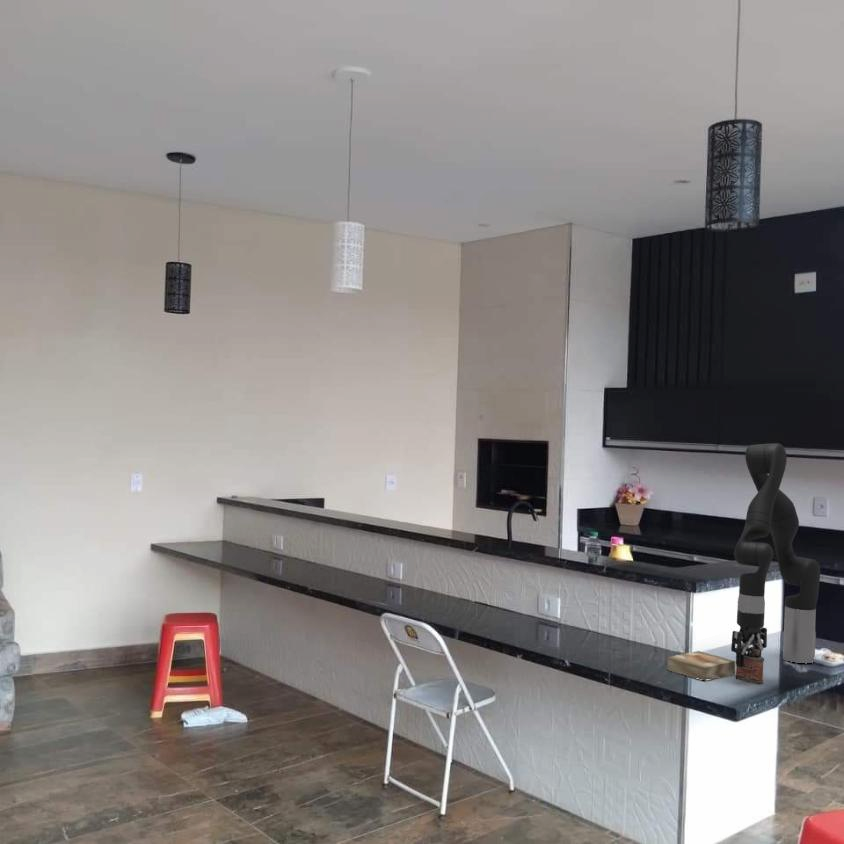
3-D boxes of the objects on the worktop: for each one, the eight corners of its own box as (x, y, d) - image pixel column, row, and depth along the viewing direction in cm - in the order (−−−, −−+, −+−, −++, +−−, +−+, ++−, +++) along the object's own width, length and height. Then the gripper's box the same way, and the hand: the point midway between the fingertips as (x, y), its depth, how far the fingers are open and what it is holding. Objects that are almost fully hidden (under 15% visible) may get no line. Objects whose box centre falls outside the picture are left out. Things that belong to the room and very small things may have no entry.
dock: (698, 663, 279) (698, 650, 279) (734, 674, 269) (735, 660, 269) (667, 670, 270) (668, 656, 270) (704, 681, 260) (704, 667, 260)
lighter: (765, 683, 261) (766, 648, 261) (760, 685, 258) (761, 650, 258) (738, 676, 266) (739, 643, 266) (733, 679, 264) (734, 645, 264)
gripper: (753, 605, 270) (751, 658, 270) (725, 609, 261) (722, 664, 261) (776, 610, 264) (773, 665, 264) (748, 614, 255) (745, 671, 255)
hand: (748, 664), depth 262 cm, fingers open, 8 cm apart
